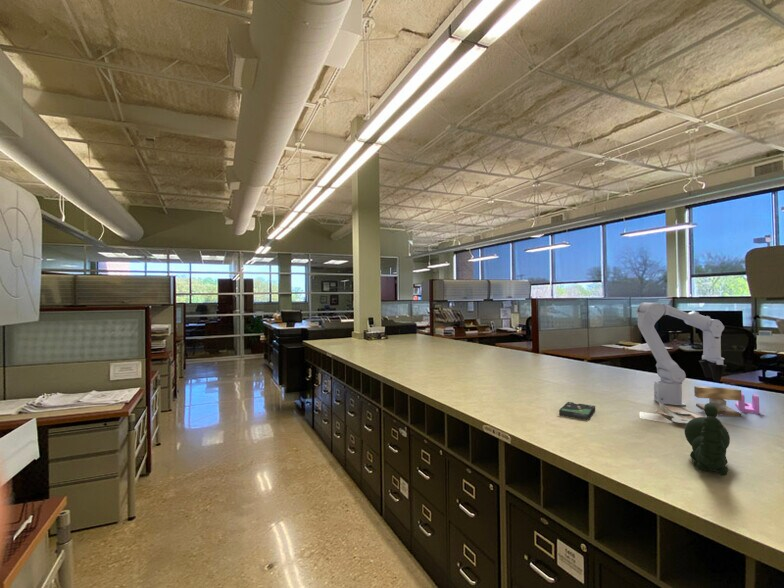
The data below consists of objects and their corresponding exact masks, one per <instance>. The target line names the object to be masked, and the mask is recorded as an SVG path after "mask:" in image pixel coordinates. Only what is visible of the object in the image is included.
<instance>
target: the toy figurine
mask: <svg viewBox="0 0 784 588" xmlns="http://www.w3.org/2000/svg"><path fill="white" fill-rule="evenodd" d="M705 404H706V405H705V406H704V410H703V412H704V413H705V415H706V416H703V417H697V418H694V419H692V420H690V421H689V422H688V423H687V424H685V427H684V435H685V439H686V440H687V443H689V445H690V446H691V450H692V451H691V452H690V455H689V456H690V458H691V460H693V462H692V466H693V467H694V468H695V469H697V470H698V471H699V472H701V473H702V472H703V473H704V472H706V471H707V470H708V471H712V472H713V471H714V472H717V474H718V475H720V476H723V477H725V476H727V475H728V474H729V471H730V470H729V468H728V466H727V465H728V462H729V461H728V460H727V456H726V455H727V449H728V448H729V446H730V442H731V437H730V434H729V431H728V429H727V428H726V427H725V426H724V425H723V424H722V422H721V421H720V419H719V418H717V417H718V410H717V408H716V406H715V405H714V404H712V403H709V402H707V403H705Z"/></svg>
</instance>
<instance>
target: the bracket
mask: <svg viewBox="0 0 784 588" xmlns="http://www.w3.org/2000/svg"><path fill="white" fill-rule="evenodd" d="M751 397H752V398H751V402H752V403H751V402H747V401H746V402H745V394H744V393H742V392H741V398H742V401H738V400H737V401H735V403H734V404H735V407H736V408H737V410H738V412H739V413H748V414H756V415H760V397H759V394H752V396H751Z"/></svg>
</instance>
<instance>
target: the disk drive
mask: <svg viewBox="0 0 784 588" xmlns="http://www.w3.org/2000/svg"><path fill="white" fill-rule="evenodd" d="M558 412H559V413H558V415H559V416H560V417H564V418H565V417H566V418H569V419H570V418H572V419H577V420H581V421H582V420H583V421H589V420H591V418H592V416H593V415H594V414H595V412H596V405H591V404H585V403H574V402H573V401H572V402H571V401H568V402H566V403H565V404H564V405H563V406H562V407H561V408H560V409H559V410H558Z"/></svg>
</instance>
